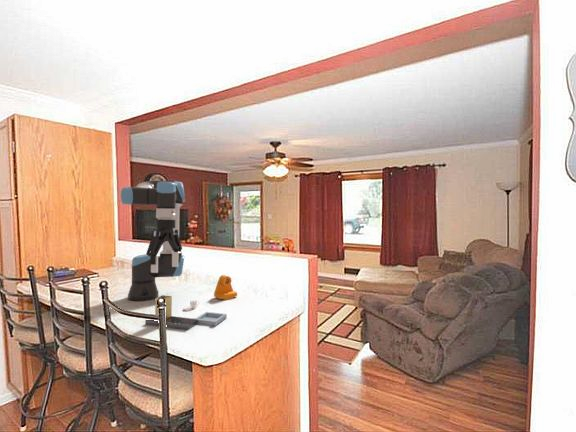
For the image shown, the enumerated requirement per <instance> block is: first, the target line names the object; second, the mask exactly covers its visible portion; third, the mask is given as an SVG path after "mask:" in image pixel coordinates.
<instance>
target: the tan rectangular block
mask: <svg viewBox="0 0 576 432" xmlns="http://www.w3.org/2000/svg"><path fill="white" fill-rule="evenodd" d="M159 298H164V299H165V301H166V321H167V320H169V319H171V317H172V316H173V315H172V311H173V310H172V309H173V308H172V307H173V306H172V304H173V303H172V302H173V300H172V298H173V297H172V295H164V294H162V295H160V296H158V297H156V298H154V299H155V305H154V306H155V307H154V309H155V310H154V312H155V314H154V316H155V315H158V309H157V300H158V299H159Z"/></svg>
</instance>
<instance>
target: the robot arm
mask: <svg viewBox="0 0 576 432" xmlns="http://www.w3.org/2000/svg"><path fill="white" fill-rule="evenodd" d="M185 196H186V195H185V188H184V184H183V182H182V181H176V180H155V179H154V180H147V181H144V182H140V183H138V184H137V185H136V186H134V187H132V186H127V187H126V186H123V187H122V188H121V190H120V201H121V203H122V204H123V205H129V206H132V205H135V206H138V205H142V206H143V205H145V206H147V205H148V206H156V208H155V218H156V221H155V225H156V226H155V228H156V229H157V230H153V231H152V232H151V239H150V241H149V244H148V248H147V250H146V253H145V254H141V255H140V254H139V255H137V256H134V257H133V258H132V259H131V260H132V261H131V285H130V287H129V291H128V293H127V299H128V300H129V301H132V302H134V301H135V302H141V301H150V300H153V299H155V298H157V297H159V290H158V287H157V284H156V278H171V277H172V278H174V277H180V276H181V275H182V274H183V268H184V264H185V263H184V261H185V255H183V252H182V250H183V246H182V243H181V240H180V215H181V214H180V208H181V207H182V206H183V203H185V201H186V197H185ZM161 247H162V250H161ZM160 250H161V251H160ZM159 251H160V252H159ZM158 254H159V256H158Z"/></svg>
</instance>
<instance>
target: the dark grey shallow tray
mask: <svg viewBox="0 0 576 432" xmlns="http://www.w3.org/2000/svg"><path fill="white" fill-rule="evenodd" d="M144 321H145V322H144V325H146V326H152V327H158V326H159V323H158V321H154V320H146V319H145V320H144ZM166 325H167V328H166V329H174V330H175V329H176V330H184V331H189V330H191V329H192V328H194V327H196V326H197V325H199V324H198V319H195V318H193V317H192V318H191V317H181V316H176V315H175V316H174V315H172V317H171V319H169V320H167V321H166Z"/></svg>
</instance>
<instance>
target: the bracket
mask: <svg viewBox="0 0 576 432" xmlns="http://www.w3.org/2000/svg"><path fill="white" fill-rule="evenodd" d="M237 296H238V292H237V291H235V290H233V286H232V278H231V276H229V275H225V274H222V275H220V276H219V278H218V281H217V284H216V286H215V290H214V292H213V297H214V298H216V299H219V300H224V301H228V300H232V299H234V298H235V297H237Z"/></svg>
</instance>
